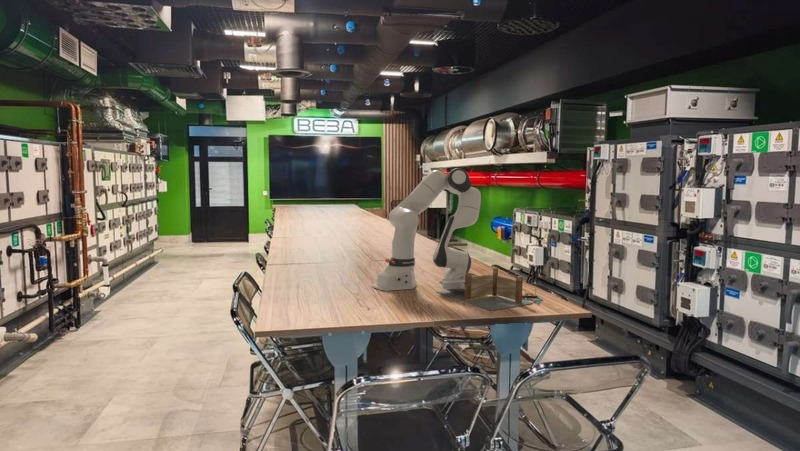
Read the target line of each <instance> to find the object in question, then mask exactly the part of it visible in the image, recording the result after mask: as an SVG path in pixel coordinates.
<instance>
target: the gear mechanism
mask: <svg viewBox="0 0 800 451" xmlns="http://www.w3.org/2000/svg"><path fill="white" fill-rule="evenodd" d="M534 291H535V292H534V293H532V292H524V295H522V299H523V298H524V299H525V301H529V300H532V301H531V302H532V303H533V304H536V305H540V304H541V301H540V300H542V301H543V298H542V297H541V296H540V295H537V288H535V289H534ZM524 299H523V300H524ZM539 302H540V303H539Z"/></svg>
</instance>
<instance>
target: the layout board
mask: <svg viewBox="0 0 800 451" xmlns="http://www.w3.org/2000/svg"><path fill="white" fill-rule="evenodd" d="M435 293H436V294H440V295H443V296H446V297H450V298H451V299H455V300H459V301H461V302H464V303H467V304H469V305H472V306H475V307H479V308H481V309H485V310H487V311H491V312H495V311H500V309H501V310H507V309H512V308H517V306H518V307H523V306H522V305H524V306H528V305H533V304H534V303H533V302H532V301H529V300H524V299H522V303H517V302H515V300H512V299H508V298H505V297H502V296H498V295H497V296H493V295H492V294H490V295H483V296H476V297H471V298H468V299H467V298H465V290H463V291H457V290H455V289H443V290H436V291H435ZM494 310H495V311H494Z"/></svg>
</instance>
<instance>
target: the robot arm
mask: <svg viewBox="0 0 800 451" xmlns="http://www.w3.org/2000/svg"><path fill="white" fill-rule="evenodd" d="M442 191H444V192H446V193H449V194H451V195H455V196H457V197H458V203H457V208H456V211H455V213H454V214H453V215H450V216H449V217H448V219H447V221H446V223H445V225H444V227H443V231H442V233H441V236H440V238H439V241H438V244H437V245H436V247H435V250H434V252H433V255H432V261H433V263H434V264H435V266H436V267H438V268H446V269H445V270H444V271H443V279H441V281H439V282H438V283H439V284H440V285H441V288H442V289H443V290H449V289H455V290H457V291H463V290H465V273H470V269H471V266H472V259H471V255H470V254H469V252H468V251H464V250H459V249H454V248H449V247H448V245H449V243H450V239H451V238H452V235H453V232H454V231H455V230H456V229H461V228H467V227H471V226H473V225H474V224H475V223H476V222H477V221H478V219H479V216H480V211H481V204H482V203H481V202H482V196H481V195H482V192H481V190H480V189H479V188H477V187H473V186H472V182H471V179H470V175H469V173H468V172H467V171H466V169H464V168H461V167H456V168H453V169H451V170H450V171H449V173H444V172H442V171H441V170H438V169H434V170H432V171H431V172H430V173H428V174H427V175H426V176H425V177H424V178H423V179H422V180H421V181H420V182H419V183H418V185H416V187H415V188H414V189H413V190H412V191H411V192H410V193H409V195H408V196H406V197H405V198H404V199H403V200H401V202H399V204H397V205H396V206H395V207H394V208H393V209H392V210H391V211H389V215H388V220H389V222H390V224H391V226H392V227H394V235H393V239H392V241H391V257H390V258H387V257H386V258H384V262H385V263H387V264H388V265H387V266H386V267H385V268H384V269H383V270H381V271H380V272H379V273H378V275H377V276H376V282H375V283H372V284H371V286H372V287H373V288H375V289H377V290H378V291H379V290H380V291H385V292H389V291H401V290H414V289H415V288H416V287H417V285H418V284H417V281H416V276H415V264H416V261H415V260H416V258H415V240H416V234H417V231H418V230H417V228H418V226H419V224H420V219H419V215H420V214H421V213H423V212H424V211H425V210H427V209H428V208H429V207H430V205H432V203H433V202H434V201H435V200H436V199H437V197H439V195H440V194H441V193H442ZM474 276H479V274H476V273H472V277H474Z"/></svg>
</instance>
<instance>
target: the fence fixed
mask: <svg viewBox="0 0 800 451" xmlns="http://www.w3.org/2000/svg"><path fill="white" fill-rule="evenodd" d="M492 275H493V294H492V295H493V296H497V295H498V296H502V297H505V298H508V299H512V300H515V302H517V303H522V300H523V298H522V296H523V282H524V280H523V279H524V276H522V275H516V276H515V279H514V278H509V277H507V276H503V275H499V268H496V267H493V268H492Z"/></svg>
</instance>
